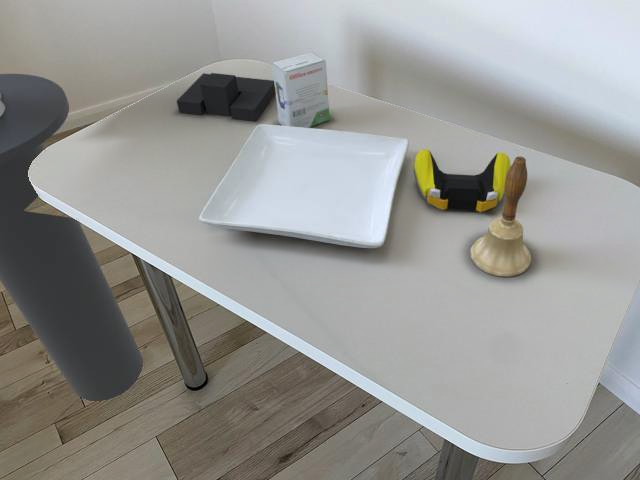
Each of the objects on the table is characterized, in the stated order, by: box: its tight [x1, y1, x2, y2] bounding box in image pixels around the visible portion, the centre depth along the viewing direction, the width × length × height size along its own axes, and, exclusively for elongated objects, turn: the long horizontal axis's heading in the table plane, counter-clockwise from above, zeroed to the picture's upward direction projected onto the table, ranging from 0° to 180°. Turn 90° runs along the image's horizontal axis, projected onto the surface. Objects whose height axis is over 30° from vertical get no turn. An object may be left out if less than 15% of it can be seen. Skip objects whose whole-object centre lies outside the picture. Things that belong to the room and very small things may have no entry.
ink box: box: [271, 52, 330, 128], centre depth 100 cm, size 9×5×12 cm, turn 123°
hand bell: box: [469, 156, 532, 278], centre depth 72 cm, size 8×8×16 cm
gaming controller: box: [413, 148, 512, 213], centre depth 86 cm, size 15×6×10 cm
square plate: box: [198, 123, 410, 249], centre depth 87 cm, size 27×27×4 cm
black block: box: [201, 72, 239, 117], centre depth 107 cm, size 5×5×6 cm
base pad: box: [176, 72, 276, 122], centre depth 110 cm, size 16×12×2 cm
